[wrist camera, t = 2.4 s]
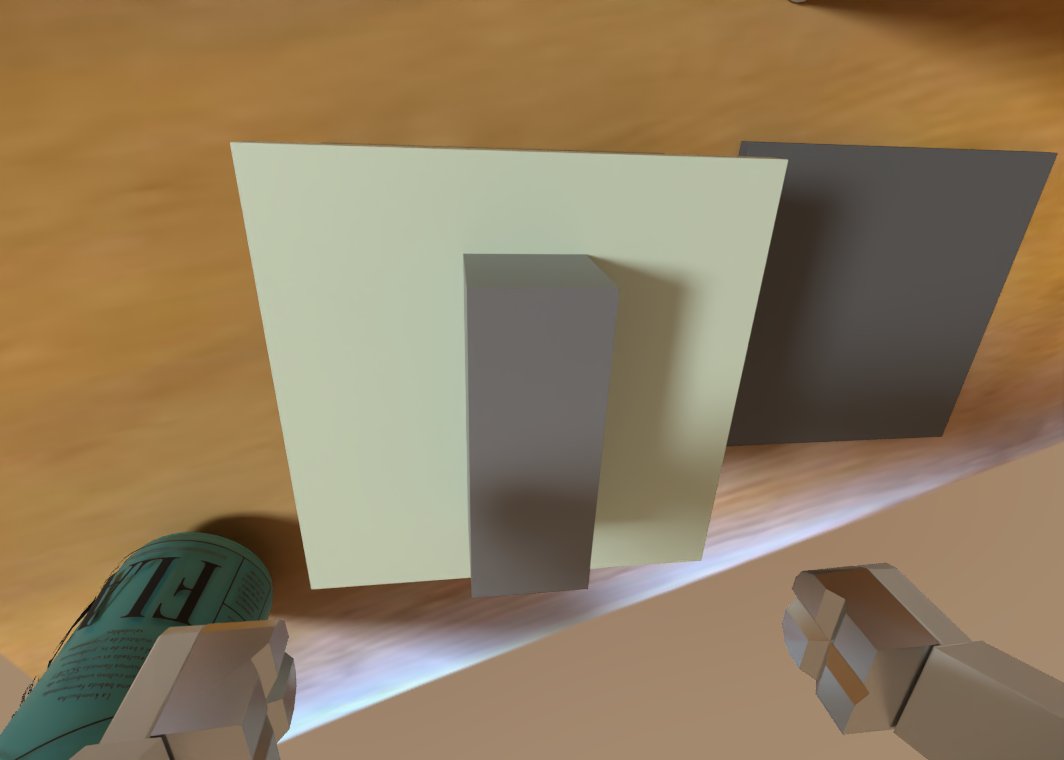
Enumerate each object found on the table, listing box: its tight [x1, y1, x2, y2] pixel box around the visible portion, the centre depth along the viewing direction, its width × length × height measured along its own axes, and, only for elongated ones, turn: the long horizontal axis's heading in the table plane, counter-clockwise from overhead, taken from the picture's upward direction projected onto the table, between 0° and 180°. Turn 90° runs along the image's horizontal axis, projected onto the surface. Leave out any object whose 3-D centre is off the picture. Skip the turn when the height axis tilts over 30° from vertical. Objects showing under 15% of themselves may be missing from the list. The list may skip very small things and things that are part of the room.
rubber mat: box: [726, 141, 1058, 446], centre depth 24 cm, size 13×13×1 cm
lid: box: [230, 141, 788, 598], centre depth 15 cm, size 13×13×5 cm
